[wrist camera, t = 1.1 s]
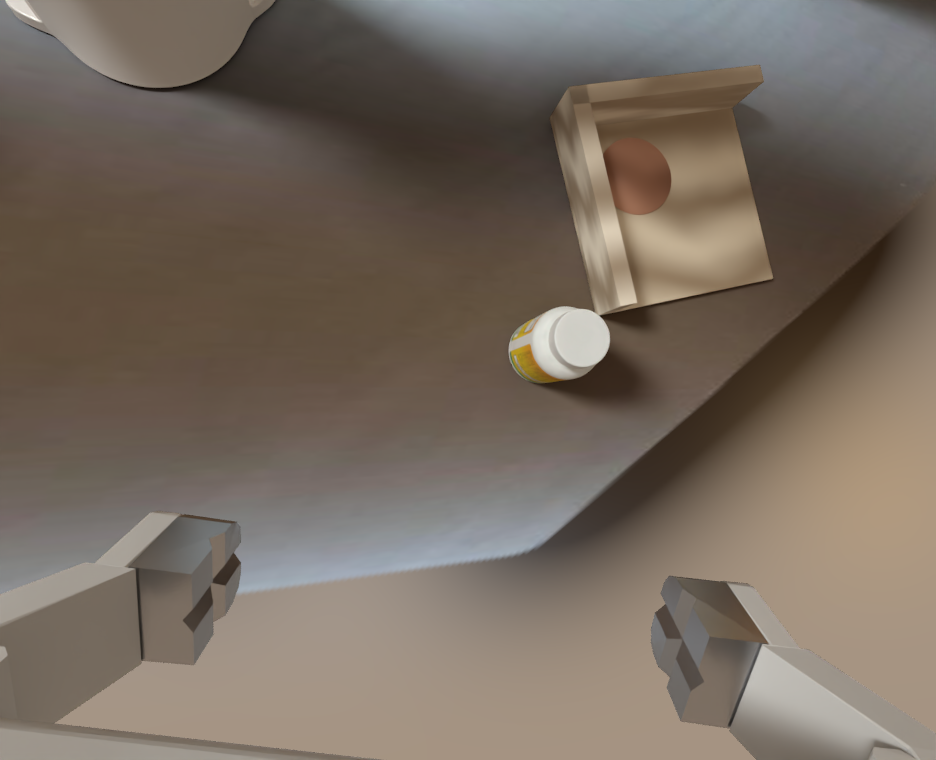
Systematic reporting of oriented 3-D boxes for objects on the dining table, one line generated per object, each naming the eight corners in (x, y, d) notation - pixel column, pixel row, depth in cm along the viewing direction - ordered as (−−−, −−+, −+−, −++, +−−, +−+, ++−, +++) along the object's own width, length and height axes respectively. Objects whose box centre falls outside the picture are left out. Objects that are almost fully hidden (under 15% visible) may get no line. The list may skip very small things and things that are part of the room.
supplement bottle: (511, 316, 44) (550, 290, 35) (570, 327, 45) (624, 305, 36) (503, 379, 44) (540, 369, 34) (562, 388, 45) (615, 382, 35)
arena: (549, 117, 46) (568, 86, 42) (724, 95, 50) (759, 64, 45) (596, 316, 46) (620, 306, 41) (769, 279, 49) (808, 266, 45)
